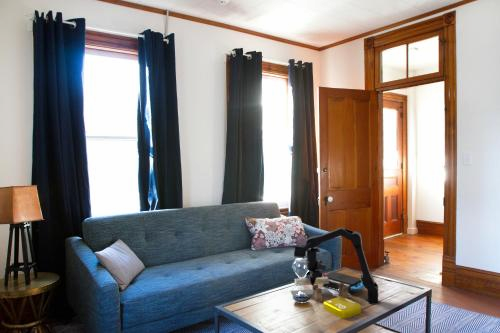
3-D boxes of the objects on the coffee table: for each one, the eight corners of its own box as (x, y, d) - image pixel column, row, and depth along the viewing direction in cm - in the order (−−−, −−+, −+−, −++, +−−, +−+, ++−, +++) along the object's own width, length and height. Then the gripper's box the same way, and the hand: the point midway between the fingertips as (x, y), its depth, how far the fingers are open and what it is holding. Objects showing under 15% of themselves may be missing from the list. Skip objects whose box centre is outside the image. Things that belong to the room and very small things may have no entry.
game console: (368, 280, 226) (356, 286, 216) (368, 290, 226) (356, 297, 216) (328, 269, 245) (315, 275, 235) (327, 279, 246) (315, 285, 235)
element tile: (362, 313, 197) (362, 304, 196) (342, 320, 188) (342, 310, 188) (341, 303, 209) (341, 294, 209) (321, 309, 201) (322, 300, 201)
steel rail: (328, 283, 221) (328, 278, 221) (296, 285, 218) (296, 280, 217) (326, 281, 224) (326, 276, 224) (294, 283, 221) (294, 278, 221)
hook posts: (348, 299, 213) (348, 286, 212) (316, 302, 209) (316, 289, 209) (343, 295, 219) (343, 282, 219) (312, 297, 215) (312, 284, 215)
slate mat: (332, 295, 219) (332, 293, 219) (295, 298, 215) (295, 296, 215) (326, 289, 228) (326, 288, 228) (290, 292, 224) (290, 290, 224)
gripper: (331, 262, 213) (330, 289, 213) (319, 253, 231) (318, 278, 232) (312, 263, 211) (312, 290, 211) (301, 254, 229) (301, 279, 230)
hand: (311, 284), depth 221 cm, fingers closed on steel rail, 3 cm apart
